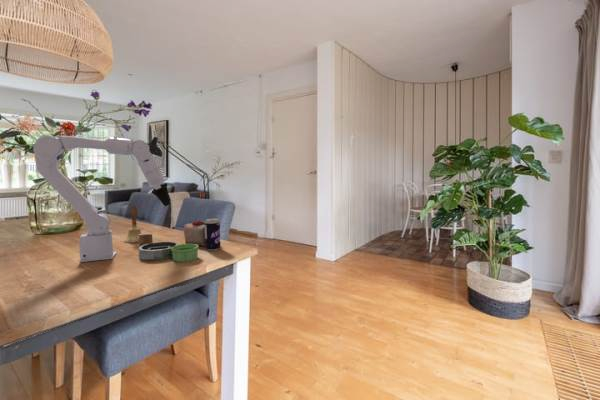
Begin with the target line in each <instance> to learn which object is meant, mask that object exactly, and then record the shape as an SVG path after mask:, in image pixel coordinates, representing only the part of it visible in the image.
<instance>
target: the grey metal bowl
mask: <svg viewBox="0 0 600 400" xmlns="http://www.w3.org/2000/svg"><path fill="white" fill-rule="evenodd" d="M176 245H179V242H176V241H168V240H167V241H166V240H165V241H156V242H153V243H149V244H145V245H142V246H140V247H139V246H138V258H139V260H142V261H147V262H150V261H152V262H153V261H155V262H156V261H163V260H168V259H173V255H172V250H171V248H172V247H173V246H176Z"/></svg>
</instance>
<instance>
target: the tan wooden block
mask: <svg viewBox="0 0 600 400" xmlns="http://www.w3.org/2000/svg"><path fill="white" fill-rule="evenodd" d="M149 243H154V242H153V232H151V233H149V232H148V233H141V234H139V242H138V248H139V247H140V246H142V245H145V244H149Z"/></svg>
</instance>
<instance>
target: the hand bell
mask: <svg viewBox="0 0 600 400" xmlns="http://www.w3.org/2000/svg"><path fill="white" fill-rule="evenodd" d="M129 212H130V217H131V227H129V228H128V233H127V236H126V238H125V239H124V243H127V244H128V243H131V244H132V243H139V234H142V232H141V228H140V227H138V226H137V216H138V209H137V207H136V205H135V204H131V208H130V211H129Z"/></svg>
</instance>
